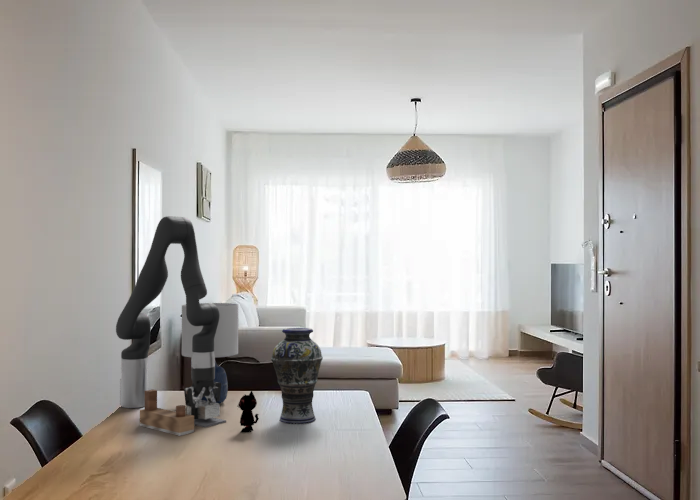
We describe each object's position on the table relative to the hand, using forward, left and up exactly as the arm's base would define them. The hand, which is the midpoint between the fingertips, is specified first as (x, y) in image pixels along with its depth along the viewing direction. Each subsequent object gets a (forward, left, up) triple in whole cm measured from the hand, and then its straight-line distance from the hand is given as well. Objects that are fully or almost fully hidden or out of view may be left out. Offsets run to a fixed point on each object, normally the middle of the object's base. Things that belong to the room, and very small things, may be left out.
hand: (202, 416), depth 227 cm
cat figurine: (+20, +1, -2) cm, 20 cm away
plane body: (-2, -13, -2) cm, 13 cm away
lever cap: (0, 0, 0) cm, 0 cm away
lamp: (-20, +20, -2) cm, 28 cm away
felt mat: (0, 0, -2) cm, 2 cm away
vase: (+22, +21, -2) cm, 31 cm away
